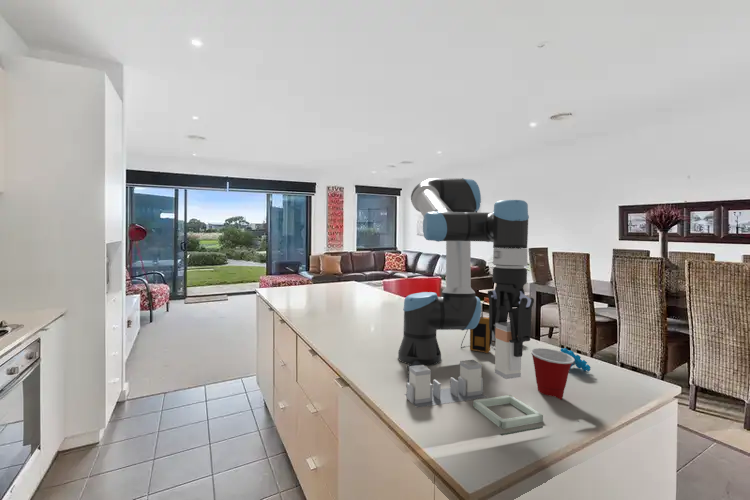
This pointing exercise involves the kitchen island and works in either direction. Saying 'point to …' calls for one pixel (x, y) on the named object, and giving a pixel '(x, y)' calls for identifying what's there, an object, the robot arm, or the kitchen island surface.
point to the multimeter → (481, 335)
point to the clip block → (445, 393)
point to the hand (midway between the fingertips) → (507, 365)
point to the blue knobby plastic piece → (577, 360)
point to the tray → (509, 422)
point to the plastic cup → (551, 370)
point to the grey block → (420, 383)
